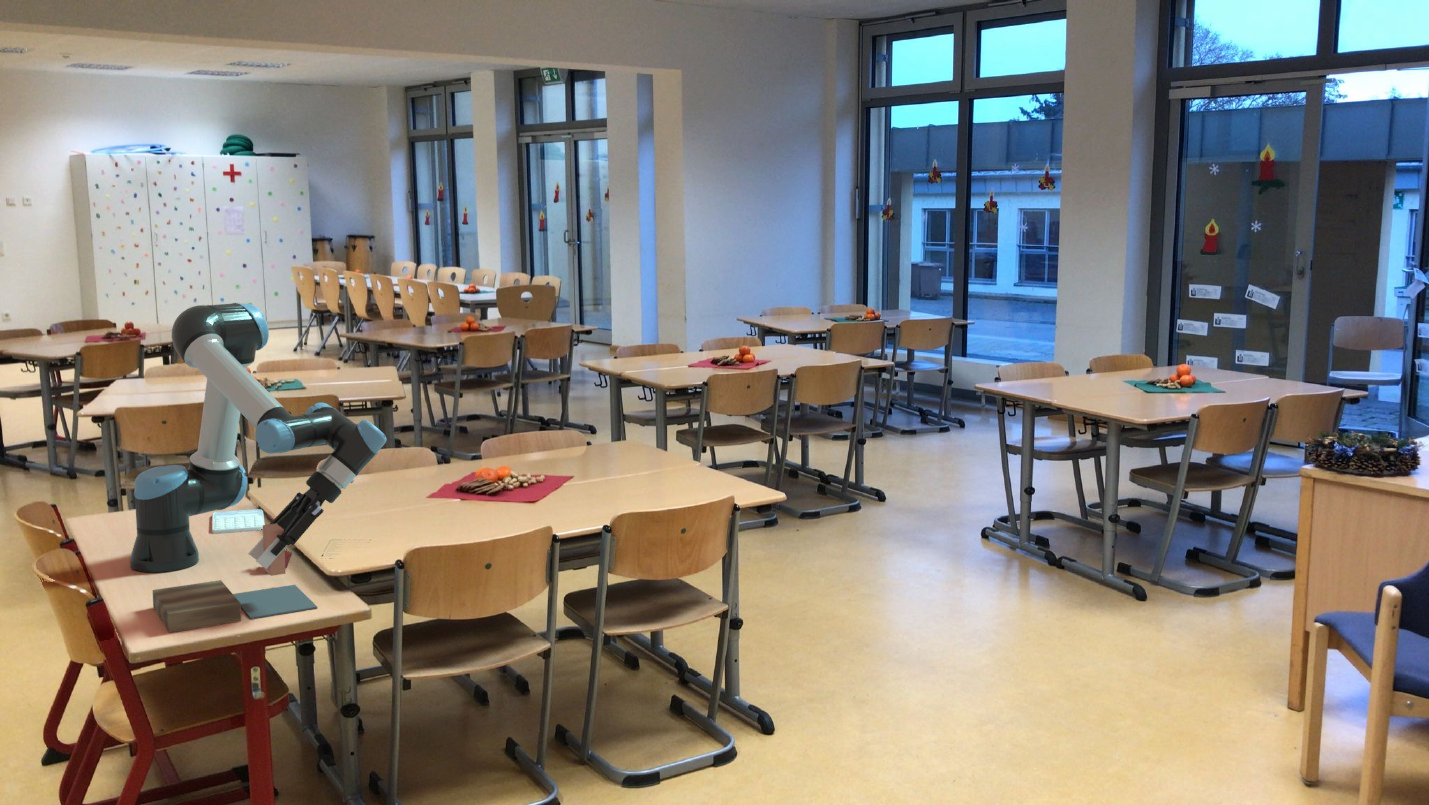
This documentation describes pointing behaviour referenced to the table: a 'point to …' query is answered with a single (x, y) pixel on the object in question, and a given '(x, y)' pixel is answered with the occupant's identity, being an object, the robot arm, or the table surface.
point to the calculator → (237, 521)
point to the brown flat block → (196, 606)
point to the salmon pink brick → (268, 538)
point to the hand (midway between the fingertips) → (257, 561)
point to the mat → (274, 601)
